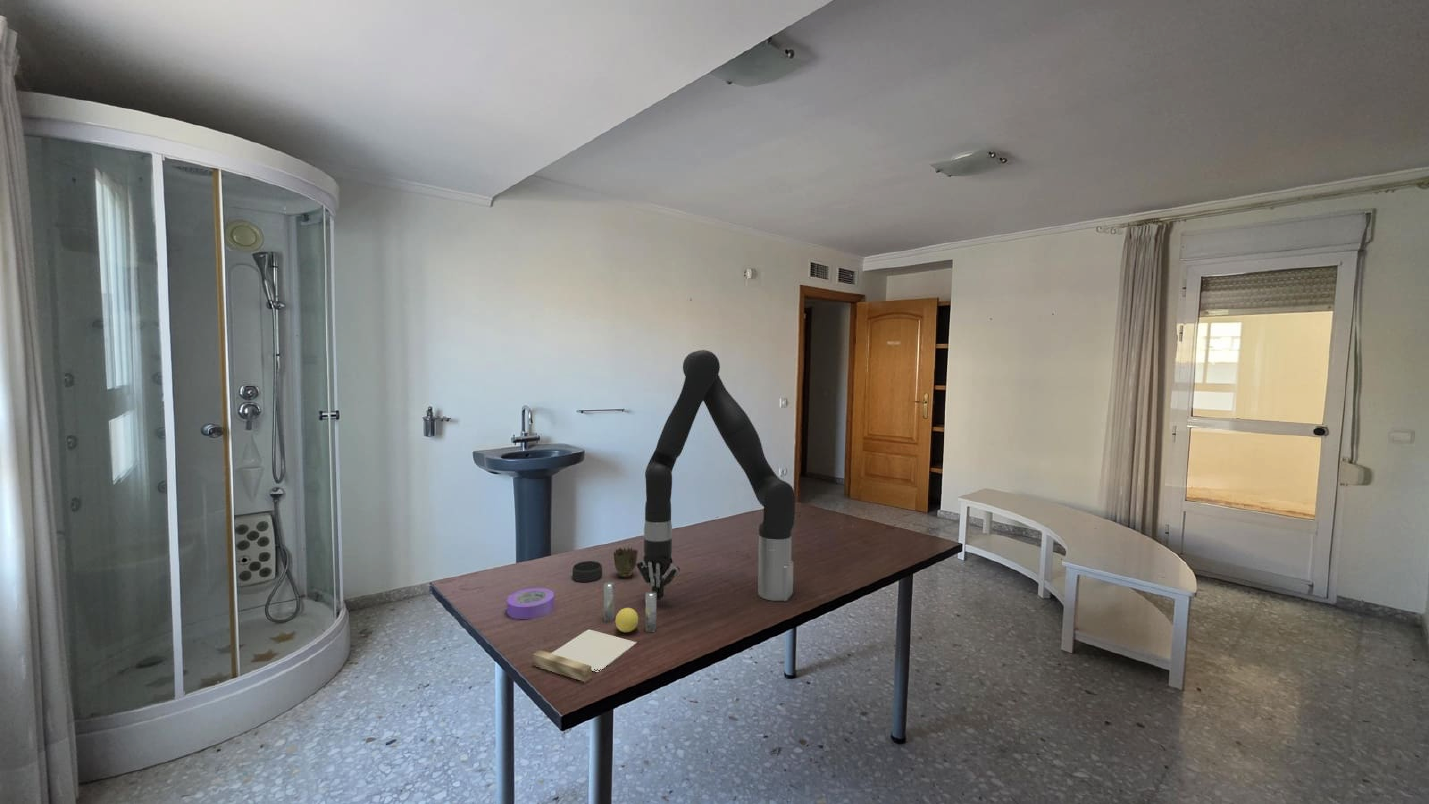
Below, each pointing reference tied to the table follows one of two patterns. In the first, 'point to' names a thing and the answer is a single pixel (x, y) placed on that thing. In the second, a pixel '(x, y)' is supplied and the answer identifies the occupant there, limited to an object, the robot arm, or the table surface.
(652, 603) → the post right
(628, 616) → the ball
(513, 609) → the masking tape
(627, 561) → the cup
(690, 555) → the table surface
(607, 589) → the post left
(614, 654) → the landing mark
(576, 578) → the smart speaker
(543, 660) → the strip
